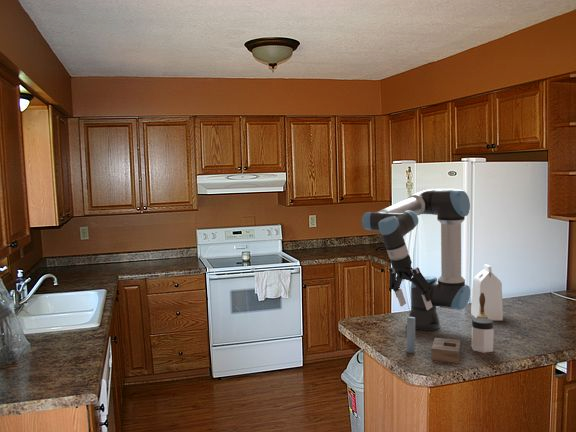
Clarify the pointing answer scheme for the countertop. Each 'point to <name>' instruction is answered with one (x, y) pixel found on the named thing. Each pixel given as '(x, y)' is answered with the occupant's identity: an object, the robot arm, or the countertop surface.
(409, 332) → the peg
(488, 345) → the jar
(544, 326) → the countertop surface
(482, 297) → the hand bell
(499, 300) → the milk
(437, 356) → the hole block
